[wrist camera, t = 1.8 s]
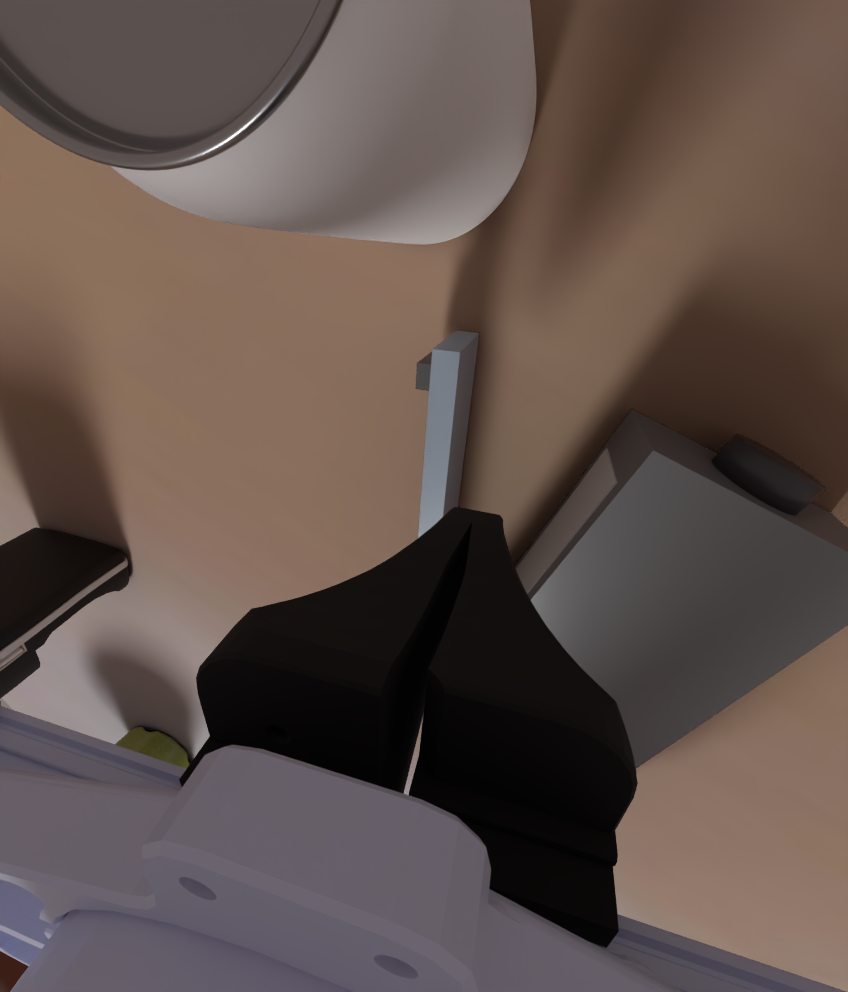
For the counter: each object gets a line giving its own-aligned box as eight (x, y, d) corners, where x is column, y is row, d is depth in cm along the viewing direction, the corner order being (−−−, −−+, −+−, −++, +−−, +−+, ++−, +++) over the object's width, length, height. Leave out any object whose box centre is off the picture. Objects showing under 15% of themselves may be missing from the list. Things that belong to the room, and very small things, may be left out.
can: (334, -38, 12) (-710, -1457, 2) (567, -21, 11) (691, -2420, 1) (327, 229, 16) (-103, 175, 5) (508, 260, 15) (404, 265, 4)
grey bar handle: (440, 663, 24) (422, 727, 21) (413, 656, 24) (392, 718, 21) (482, 333, 16) (463, 352, 12) (440, 328, 16) (411, 346, 13)
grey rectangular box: (574, 729, 24) (578, 819, 20) (443, 660, 24) (422, 736, 20) (856, 491, 15) (959, 570, 11) (648, 383, 15) (680, 424, 11)
